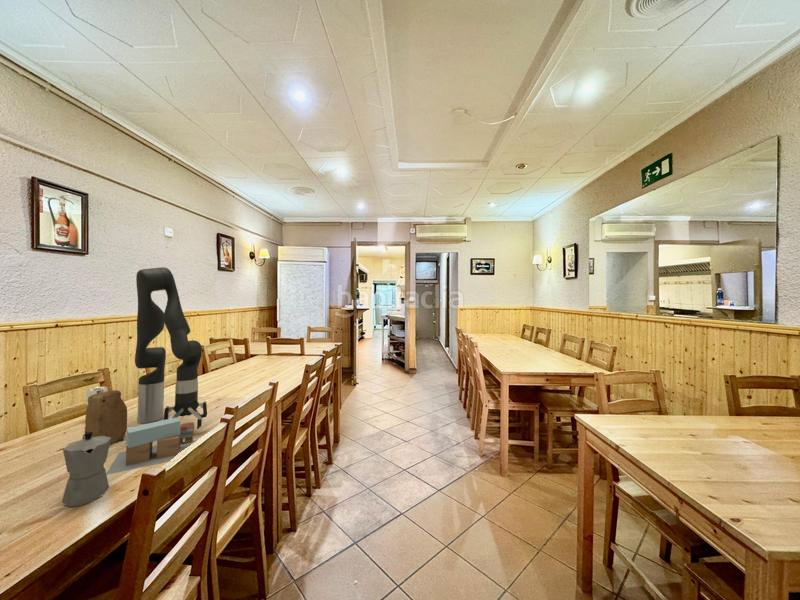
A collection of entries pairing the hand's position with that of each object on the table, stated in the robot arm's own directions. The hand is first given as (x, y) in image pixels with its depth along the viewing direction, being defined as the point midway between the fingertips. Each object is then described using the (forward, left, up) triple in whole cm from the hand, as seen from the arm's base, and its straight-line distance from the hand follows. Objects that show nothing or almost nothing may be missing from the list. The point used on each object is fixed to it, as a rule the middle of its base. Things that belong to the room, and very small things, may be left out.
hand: (185, 430), depth 121 cm
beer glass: (-38, -35, -3) cm, 51 cm away
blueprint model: (+7, 0, -2) cm, 8 cm away
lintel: (+13, -8, +4) cm, 16 cm away
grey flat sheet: (+12, -8, -3) cm, 15 cm away
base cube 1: (+13, -12, -2) cm, 18 cm away
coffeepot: (+29, -21, -3) cm, 36 cm away
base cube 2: (+13, -4, -2) cm, 14 cm away
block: (-8, -25, -3) cm, 26 cm away
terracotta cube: (-1, 0, -3) cm, 3 cm away
